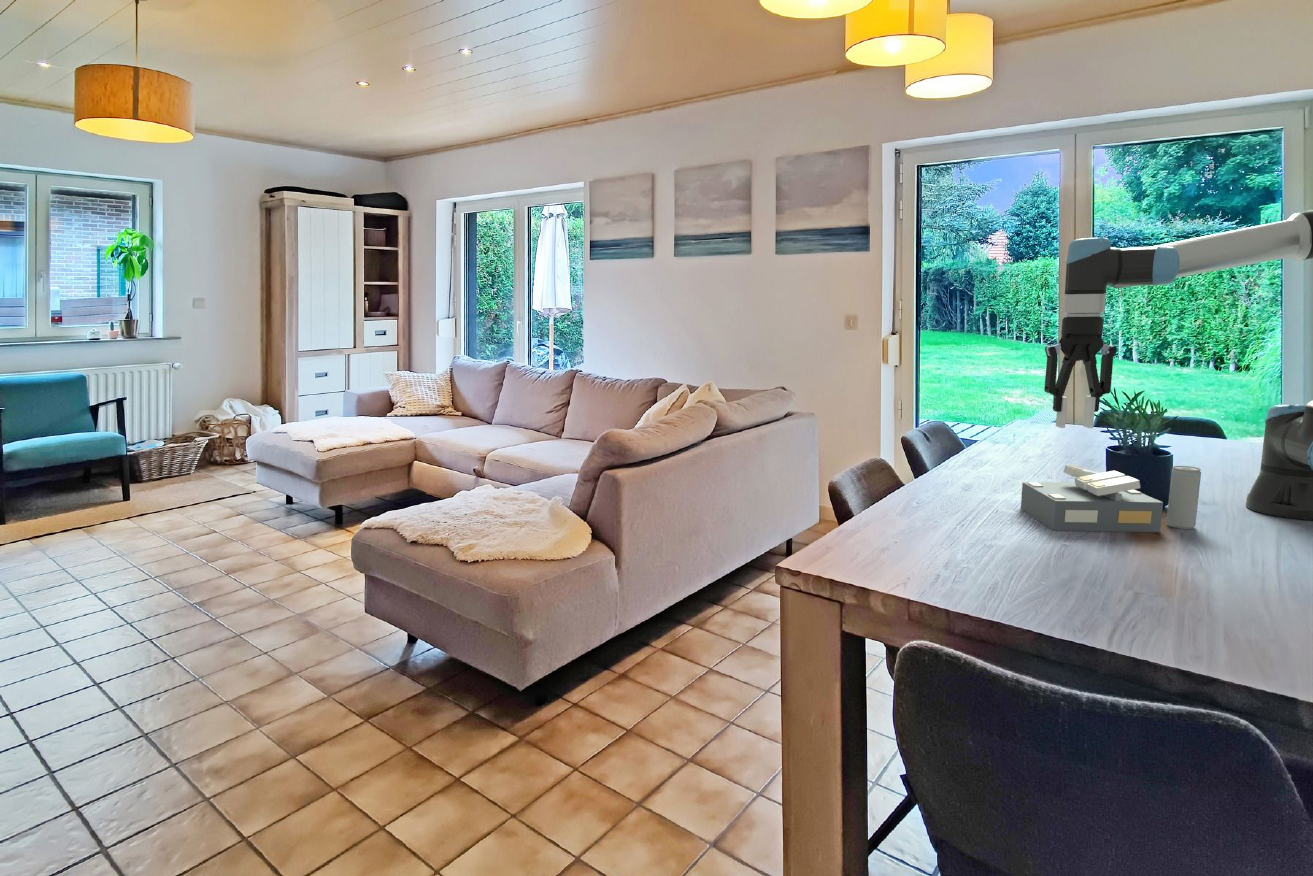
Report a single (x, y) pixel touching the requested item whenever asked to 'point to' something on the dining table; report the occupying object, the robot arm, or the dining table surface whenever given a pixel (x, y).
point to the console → (1090, 508)
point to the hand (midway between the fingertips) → (1074, 426)
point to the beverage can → (1183, 497)
